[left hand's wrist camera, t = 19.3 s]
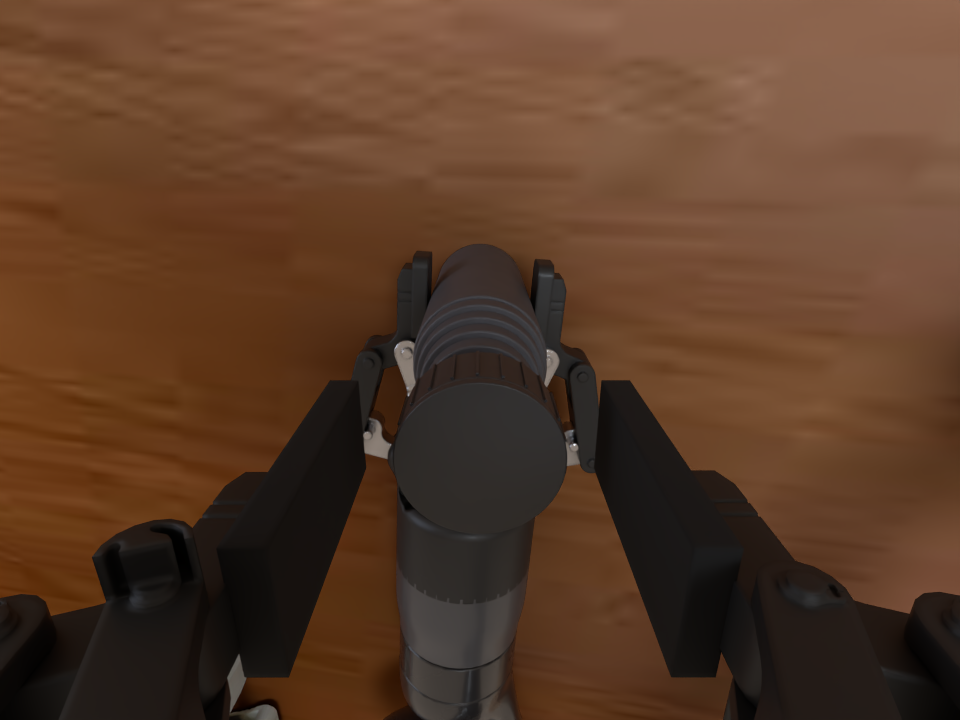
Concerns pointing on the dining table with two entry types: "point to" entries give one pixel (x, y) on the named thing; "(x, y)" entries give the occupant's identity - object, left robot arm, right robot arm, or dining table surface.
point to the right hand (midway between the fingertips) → (483, 259)
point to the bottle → (479, 312)
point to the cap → (480, 444)
